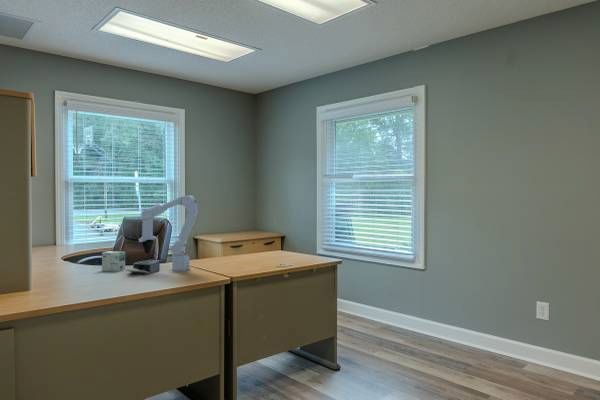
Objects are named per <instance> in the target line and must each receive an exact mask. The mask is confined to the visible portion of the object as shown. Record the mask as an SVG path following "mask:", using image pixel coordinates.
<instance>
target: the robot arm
mask: <svg viewBox="0 0 600 400" xmlns="http://www.w3.org/2000/svg"><path fill="white" fill-rule="evenodd" d="M179 205H180V206H183V207H184V208H185V209H186V211H187V216H186V218H185V220H184V223H183V226H182V227H181V230H180V233H179V235H178V238H177V239H176V240H175V242H174V243H173V245H171V248H170V249H171V250H170V251H171V253H172V255H171V257H172V258H171V261H172V262H171V268H169V270H170V271H182V272H183V271H187V270H188V269H189V270H190V269H191V267H190V265H191V264H190V255H188V254H186V252H185V251H186V249H187V243H188V238H189V235H190V233H191V230H192V229H193V225H194V223H195V220H196V219H197V217H198V214H199V208H198V200H197V199H196V197H195V196H194V195H183V196H179V197H177V198H174V199H173V200H170V201H168V202H166V203H164V204H162V203H156V204H155V205H154V206H151V207H148V209H146V208H145V209H144V210H142V211H141V212H140V217H141V218H142V223H141V225H142V227H141V228H142V230H141V231H142V233H141V237H140V238H138V242H139V243H140V244H142V246H143V251H144V254H150V252H151V249H152V246H153V244H154V240H157V236H156V235H153V233H154V232H153V231H154V228H153V227H154V225H153V224H154V222H153V219H154V218H155V217H157V216H159V215H162V214H164V213H165V212H166V210H169V209H170V208H173V207H175V206H179Z"/></svg>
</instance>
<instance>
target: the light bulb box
mask: <svg viewBox="0 0 600 400" xmlns="http://www.w3.org/2000/svg"><path fill="white" fill-rule="evenodd" d="M123 270H126V251H117V250H107V251H102V253H101V272H109V271H111V272H112V271H114V272H121V271H123Z"/></svg>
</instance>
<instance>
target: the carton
mask: <svg viewBox="0 0 600 400" xmlns="http://www.w3.org/2000/svg"><path fill="white" fill-rule="evenodd" d="M160 263H161V262H160V261H154V260H152V261H151V260H141V261H137V262H133V263H132V268H134V269H138V270H145V271H148V272H150V273H149V274H153V273H156V272H159V271H160V268H161V267H160Z"/></svg>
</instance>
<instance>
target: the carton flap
mask: <svg viewBox="0 0 600 400" xmlns="http://www.w3.org/2000/svg"><path fill="white" fill-rule="evenodd" d="M125 270H126V271H127V272H129V273H134V274H151V273H150V272H148V271H145V270H138V269H134V268H133V267H128V268H127V269H125Z"/></svg>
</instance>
